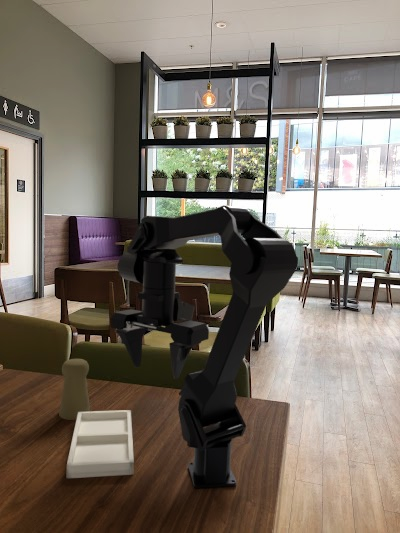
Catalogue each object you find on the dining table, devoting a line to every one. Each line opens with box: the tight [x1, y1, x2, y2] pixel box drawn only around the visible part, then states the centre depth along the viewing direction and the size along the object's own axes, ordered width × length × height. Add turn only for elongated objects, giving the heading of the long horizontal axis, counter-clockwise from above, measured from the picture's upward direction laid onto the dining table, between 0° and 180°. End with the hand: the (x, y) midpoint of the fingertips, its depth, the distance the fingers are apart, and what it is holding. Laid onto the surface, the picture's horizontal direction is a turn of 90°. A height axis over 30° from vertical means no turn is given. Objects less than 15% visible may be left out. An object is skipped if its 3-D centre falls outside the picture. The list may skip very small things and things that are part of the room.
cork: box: [58, 358, 91, 421], centre depth 89 cm, size 6×6×11 cm
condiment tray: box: [66, 409, 135, 479], centre depth 77 cm, size 19×10×2 cm, turn 10°
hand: (156, 372), depth 81 cm, fingers open, 9 cm apart
